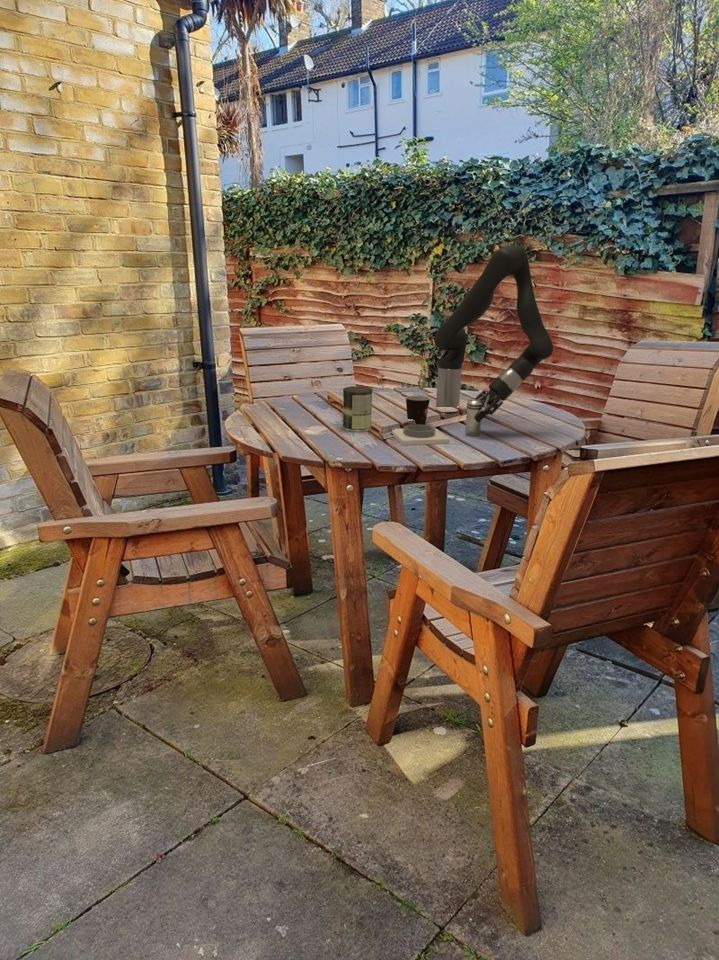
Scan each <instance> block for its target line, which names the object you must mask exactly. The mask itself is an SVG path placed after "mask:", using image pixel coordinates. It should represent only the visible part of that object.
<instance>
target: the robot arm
mask: <svg viewBox="0 0 719 960" xmlns="http://www.w3.org/2000/svg"><path fill="white" fill-rule="evenodd" d="M511 275H513V278H514V281H515V283H516V288H517V289H516V291H517V295H516V296H517V298H516V312H517V318H518V321H519V324H520V327H521V329H522V332H523V334H524V335H526V337H527V338H528V342H529V343H530V344H528V346H527V347H526V348H525V349H524V350H523V351H522V353H521V354H520V355H519V356H518V357H517V358H516V359H515V360H514V361H513V362H512V363H511V364H509V366H507V368H506V369H504V370H503V371H502V372H501V373H500V374H499V375H498V376H497V377H495V378H494V379H493V381H492V382H490V384H488V389H489V391H485V390H484V389H483V390H482V391H481V392H480V393H479V394H478V395H476V397H475V398H474V399H477V400H482V404H483V405H482V411H481V412H480V413H479V414H478V415H477V416H476V417H475V418H474V419H475V420H476V421H477V422H480V421H481V422H482V421H483V419H484V418H485V417H486V416H489V415H490V416H493V414H494V413H495V412H497V410H498V409H499V408H500V407H501V406H502V405H503V404H504V401H506V400H507V399H508V398H509V397H510V396H511V395H512V394H513V393H514V392H515V391H516V390H517V389H518V388H519V387H520V386H521V384H522V383H523V382H524V381H525V380H526V379H527V378H528V377H529V376H530V375H531V374H532V373H533V371H534V369H535V368H536V366H538V365H539V364H540V363H541V362H543V360H546V359H549V358H550V357H551V356H552V354H553V352H554V344H553V341H552V339H551V336H550V334H549V332H548V330H547V329H546V326H545V325H544V322H543V319H542V316H541V314H540V311H539V308H538V307H539V306H538V303H537V302H536V296H535V290H534V286H533V279H532V274H531V269H530V265H529V258H528V254H527V252H526V249H524V247H523V246H521V245H520V244H513V245H508V246H504V247H501V248H498V249H497V250H496V251H495V252H494V253H493V254H492V256H491V257H490V258H489V261H488V263H487V264H486V266H485V268H484V269H483V271H482V273H481V274H480V276H479V277H478V278H477V280H476V281H475V282H474V284H473V286H472V287H471V288H470V289H469V290H468V292H467V293H466V294H465V296H464V298H463V299H462V301H461V302H460V303H459V305H458V306H457V307H456V309H455V310H454V311H453V312H452V314H450V316H449V317H448V318H447V319H446V320H445V321H444V322H443V324H442V325H440V327H439V328H438V329H437V331H436V333H435V336H434V344H435V347H436V348H437V349H439V350H440V351H448V354H447V355H446V356H444V357H442V358H441V359H439V360H438V365H437V383H436V397H435V398H436V399H435V400H436V401H435V402H436V403H435V408H436V407H457V406H459V407H460V400H461V387H462V384H461V383H462V371H463V369H462V368H463V364H464V361H465V352H466V347H467V334H466V333H467V332H466V330H465V328H466V327H468V326H469V325H471V324H473V323H474V322H476V321H477V320H478V319H480V318H482V316H483V315H484V314H485V313H486V312H487V310H488V309H489V308H490V306H491V305H492V304H493V302H494V296H495V295H494V294H495V290H496V289H497V287H498V286H499V284H500V283H501V282H502V281H503V280H504V279H505V278H507V277H509V276H511ZM465 414H466V415H467V410H466V411H465Z"/></svg>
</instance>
